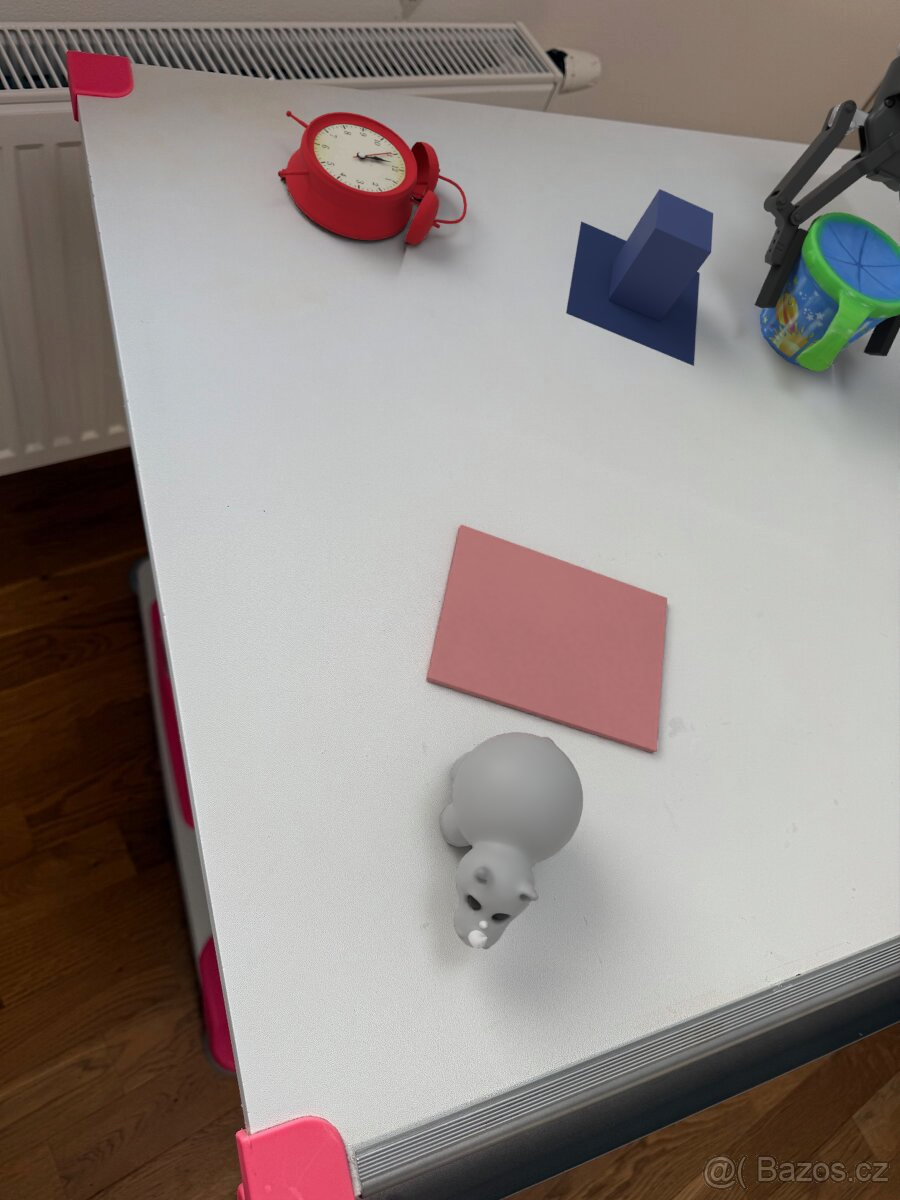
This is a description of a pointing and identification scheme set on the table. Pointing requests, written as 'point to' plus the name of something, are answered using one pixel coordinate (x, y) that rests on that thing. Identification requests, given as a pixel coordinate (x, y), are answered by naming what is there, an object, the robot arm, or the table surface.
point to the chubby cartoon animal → (507, 827)
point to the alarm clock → (364, 179)
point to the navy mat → (595, 308)
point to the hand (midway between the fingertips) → (820, 330)
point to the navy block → (661, 255)
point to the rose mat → (551, 640)
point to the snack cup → (834, 291)
